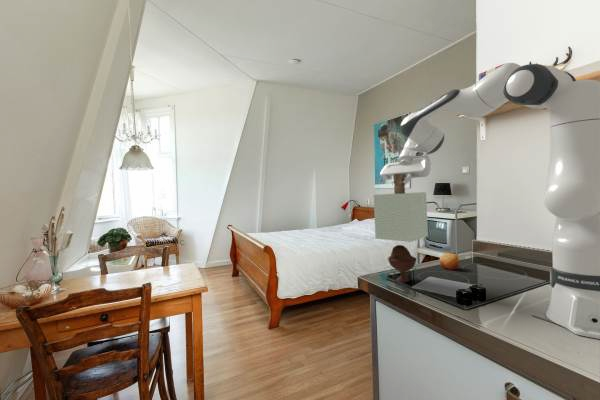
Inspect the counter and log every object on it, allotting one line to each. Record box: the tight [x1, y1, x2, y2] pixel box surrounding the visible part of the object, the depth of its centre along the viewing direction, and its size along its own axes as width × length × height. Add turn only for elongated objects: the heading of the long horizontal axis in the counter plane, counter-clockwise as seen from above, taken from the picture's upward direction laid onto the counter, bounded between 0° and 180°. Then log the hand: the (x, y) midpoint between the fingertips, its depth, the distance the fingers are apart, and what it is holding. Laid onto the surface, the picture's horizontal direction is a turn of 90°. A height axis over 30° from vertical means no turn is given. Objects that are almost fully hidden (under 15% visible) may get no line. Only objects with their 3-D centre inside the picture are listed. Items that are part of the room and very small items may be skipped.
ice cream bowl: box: [387, 244, 417, 283], centre depth 115 cm, size 11×11×15 cm
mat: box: [411, 276, 474, 298], centre depth 106 cm, size 17×17×1 cm
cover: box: [373, 174, 429, 243], centre depth 114 cm, size 15×15×26 cm
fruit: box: [439, 252, 460, 271], centre depth 129 cm, size 8×8×8 cm
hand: (398, 184), depth 114 cm, fingers closed on cover, 3 cm apart
